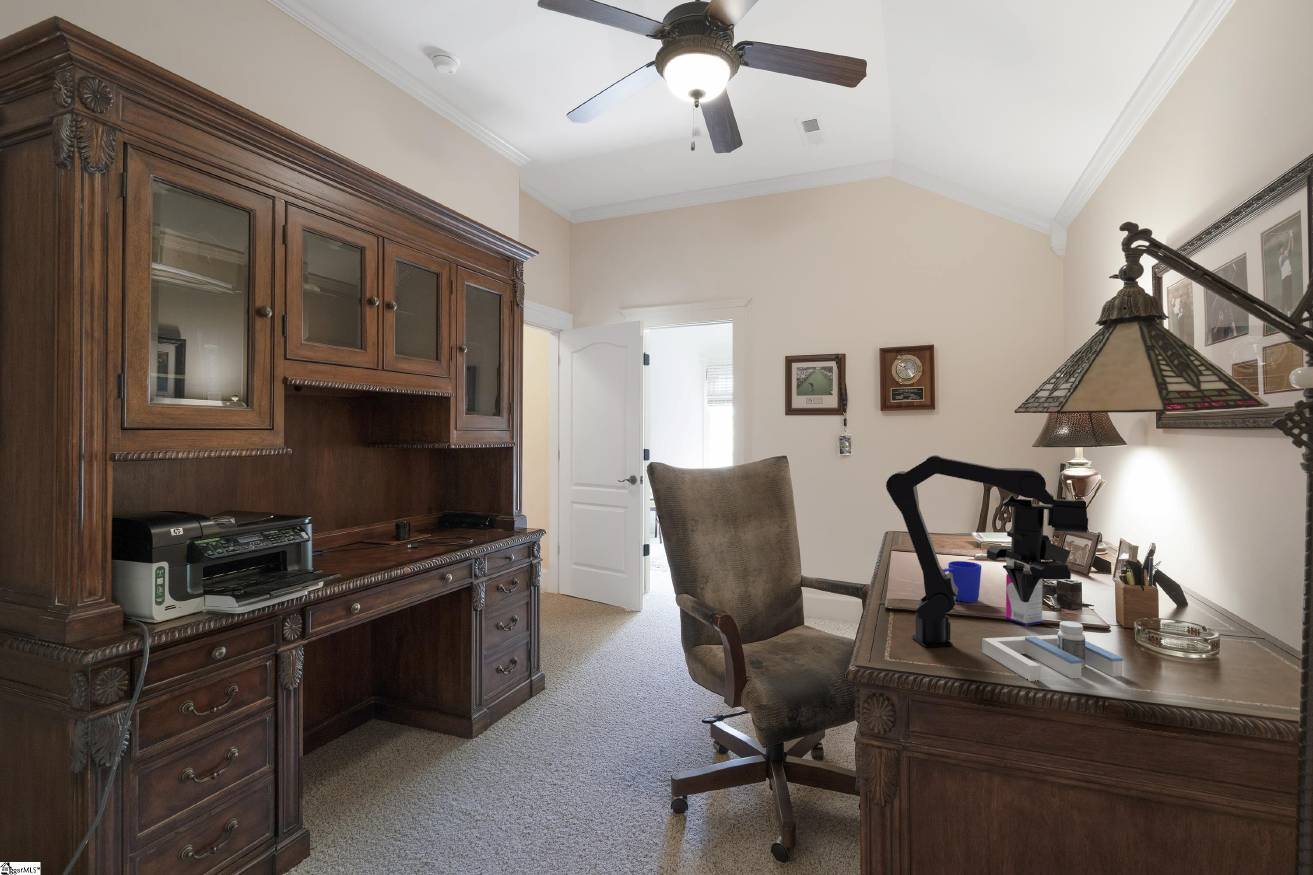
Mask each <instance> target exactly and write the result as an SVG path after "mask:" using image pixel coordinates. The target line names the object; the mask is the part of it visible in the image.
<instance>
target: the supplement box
mask: <svg viewBox="0 0 1313 875" xmlns="http://www.w3.org/2000/svg"><path fill="white" fill-rule="evenodd" d="M1005 577H1006V581H1005V590H1006V591H1005V596H1006V597H1005V620H1007V621H1011V622H1012V623H1013V622H1014V623H1017V624H1019V625H1023V626H1025V627H1026V626H1032V625H1037V624H1042V623H1043V579H1040V580H1039V581H1038V583H1037V585H1036V587H1035V589H1034V591H1033V593H1032V595H1031V597H1030V600H1029V602H1022V601H1021V600H1020V597H1019V595H1018V593H1017V591H1016V589H1015V587H1014V585H1013V583H1012V581H1011V579H1010V577H1009V575H1008V573H1006V575H1005Z"/></svg>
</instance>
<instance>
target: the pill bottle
mask: <svg viewBox="0 0 1313 875" xmlns="http://www.w3.org/2000/svg"><path fill="white" fill-rule="evenodd" d="M1083 633H1084V625H1083V624H1082V623H1079V622H1077V621H1076V622H1075V621H1072V620H1071V621H1070V620H1067V621H1066V620H1062V621H1060V622H1059V631H1058V632H1057V635H1058V648H1059V649H1061V650H1063V651H1065V652H1067V653H1069V654H1071V655H1073V656H1075V657H1077V658H1079V659H1081V660H1082V663H1081V669H1084V668H1085V667H1086V663H1085V641H1086V635H1085V634H1083Z"/></svg>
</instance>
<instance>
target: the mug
mask: <svg viewBox="0 0 1313 875" xmlns="http://www.w3.org/2000/svg"><path fill="white" fill-rule="evenodd" d="M947 564H948V568H947V567H946V568H942V569H943V571H944V572H945V573H947V572H948V573H950V572H952V575H953V580H954V583H955V585H956V586H957V588H958V593H957V597H956V600H957V602H960V601H962V602H961V603H967V602H971V603H976V602H977V601H978V600H979V597H980V587H981V575H982V565H981V564H979V563H977V562H973V561H972V562H971V561H963V560H954V561H948V563H947Z"/></svg>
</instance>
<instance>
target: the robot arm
mask: <svg viewBox="0 0 1313 875" xmlns="http://www.w3.org/2000/svg"><path fill="white" fill-rule="evenodd" d="M935 475H942V476H948V477H952V478H956V479H962V480H967V481H972V482H976V483H980V484H986V485H990V486H994V487H998V488H1000V489H1002V490H1005V491H1007V492H1010V493H1012V494H1010V495H1009V496H1008V498H1007V499H1005V500H1003V502H1002V506H1003V507H1007V508H1008V507H1009V508H1012V515H1011V517H1012V518H1011V531H1010V530H1009V531H1008V530H1007V531H1006V537H1009V538H1011V541H1010V542H1011V543H1010V544H1011V545H990V546H989V547H988V548H987V549H986V558H987V559H989V560H991V561H995V562H997V561H998V560H999V559H1005V560H1006V561H1005V562H1006V564H1003V565H1002V568H1003V569H1004V570H1005V571H1006V574H1008V575H1009V577H1010V579H1011V581H1012V583H1013V585H1014V587H1015V589H1016V591H1017V593H1018V595H1019V597H1020V600H1021V601H1022V602H1029V600H1030V597H1031V595H1032V593H1033V591H1034V589H1035V587H1036V585H1037V583H1038V581H1039V580H1040V579H1042V580H1046V581H1047V580H1049V581H1050V580H1052V581H1053V580H1058V581H1061V580H1071V579H1072V568H1071V567H1070V566H1069V565H1068V564H1067V562H1068V560H1069V557H1070V554H1071V553H1072V551H1071V550H1069V549H1067V548H1064V547H1062V546H1058V545H1056V544H1054V543H1052V540H1051V539H1050V537H1049V535H1047V534H1044V528H1045V527H1044V526H1045V525H1044V523H1045V510H1047V513H1046V525H1047V526H1050V527H1051V528H1053V529H1052V530H1053V532H1061V533H1072V534H1083V535H1086V534H1087V533H1088V527H1089V517H1088V510H1087V509H1088V508H1087V501H1086V500H1085V499H1062V498H1061V499H1060V498H1054V495H1053V494H1052V493H1050V492H1049V491H1048V490H1047V482H1046V479H1045V477H1044V476H1043V475H1042V474H1041V473H1040V472H1039V471H1037V470H1035V469H1034V468H1024V467H1023V468H1022V467H1021V468H1020V467H1017V468H1016V467H994V466H990V465H989V466H988V465H984V464H978V463H973V462H968V461H962V460H957V459H952V458H948V457H942V456H940V455H936V454H935V455H934V454H933V455H931V456H928V457H927V458H926V460H924V461H922V462H921V463H919V464H917V465H915V466H914V467H912V468H911V469H909V470H907V471H904V470H902V471H901V470H900V471H897V472H895V473H893V474H891V475H890V476H889V477H888V479H887V481H886V482H885V488H886V491H887V493H888V495H889V496H890V499H891V500H892V501H893V503H894V505H895V506H896V507H897V509H898V511H899V512H900V513H901V515H902V518H903V521H904V523H905V527H906V529H907V532H908V535H909V537H910V540H911V543H912V546H913V548H914V551H915V554H916V557H917V561H918V562H919V566H920V568H921V571H922V575H923V585H924V586H923V587H924V594H925V595H924V596H923V597H921V598H920V599H919V602H918V604H917V607H916V611H915V612H916V613H915V619H914V620H915V622H914V623H915V628H914V629H915V630H914V631H915V634H912V635H911V639H914V640H915V641H916V642H918V643H919V644H920V645H922V646H923V647H925V648H934V647H935V648H937V647H939V648H941V647H953V646H954V644H953V642H951V640H952V639H951V628H952V627H951V625H952V622H950V620H949V619H950V616H948V615H947V613H950V612H951V611H952V610H953V609H954V608H955V605H956V597H957V593H958V588H957V586H956V585H955V583H954V580H953V575H952V572H950V573H949V572H948V573H946V572H944V571H943V569H944V568H943V567H942V566H941V564H940V562H939V558H938V556H937V553H936V550H935V548H934V545H933V542H932V539H931V537H930V534H929V530H928V529H927V528H928V527H927V526H926V525H927V524H926V523H925V520H924V517H923V514H922V512H921V508H920V501H919V499H920V498H919V493H918V485H920V484H921V483H922V482H924V481H926V480H928V479H929V478H932V476H935ZM1014 494H1015V495H1018V496H1019V497H1022V498H1016V497H1015V496H1014ZM1023 498H1025V499H1023ZM1026 498H1027V499H1026ZM1032 499H1035V500H1036V501H1037V502H1040V503H1041V504H1038V503H1036V504H1035V503H1033V500H1032Z"/></svg>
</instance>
